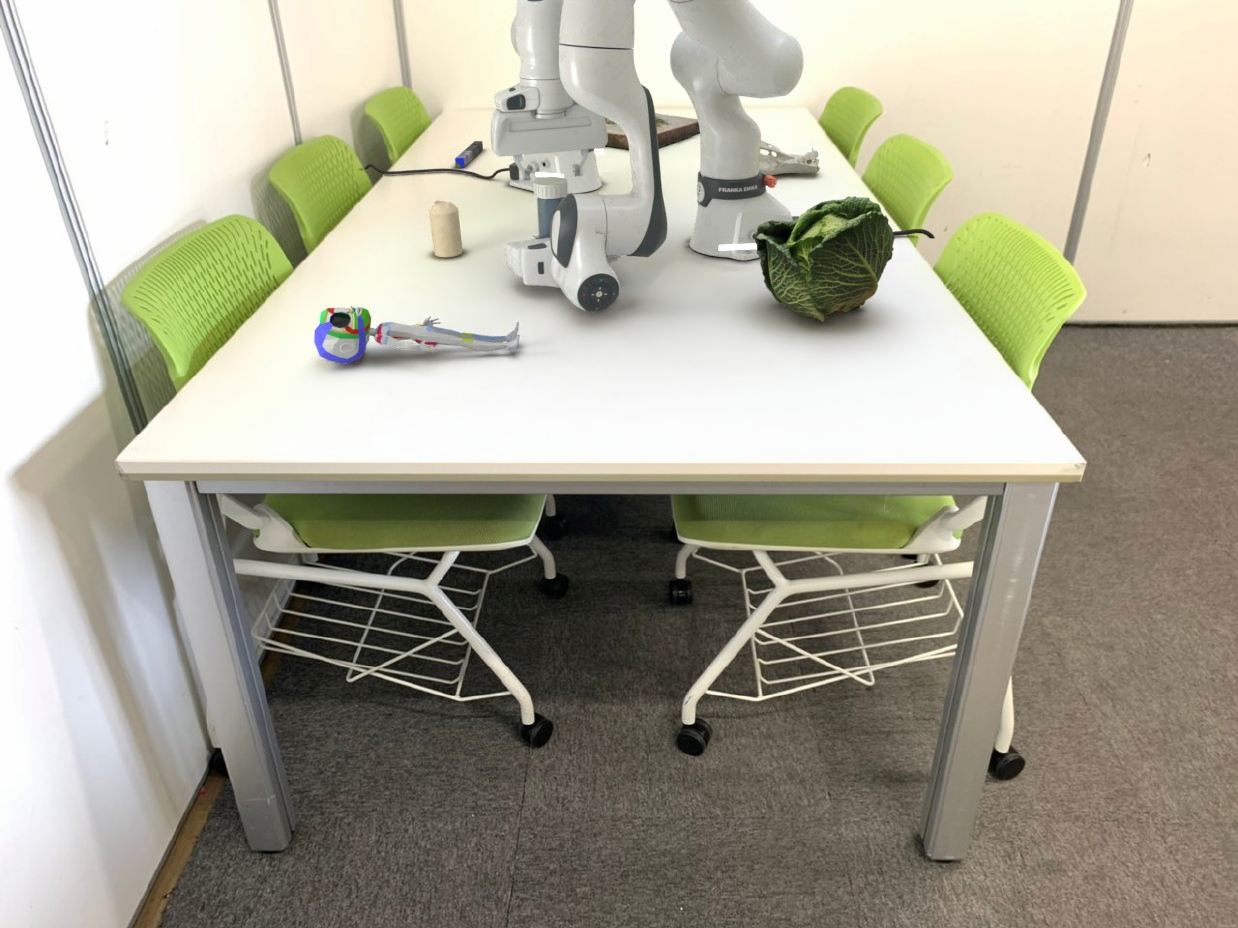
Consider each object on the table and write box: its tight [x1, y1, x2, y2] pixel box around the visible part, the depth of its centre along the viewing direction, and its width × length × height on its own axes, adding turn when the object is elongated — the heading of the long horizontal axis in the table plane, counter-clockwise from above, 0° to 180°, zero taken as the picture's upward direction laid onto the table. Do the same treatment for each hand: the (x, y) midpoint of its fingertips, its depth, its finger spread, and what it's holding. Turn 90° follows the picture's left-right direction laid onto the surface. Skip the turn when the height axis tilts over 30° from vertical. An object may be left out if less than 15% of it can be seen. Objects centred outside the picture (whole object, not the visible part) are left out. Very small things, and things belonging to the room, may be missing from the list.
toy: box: [312, 305, 520, 365], centre depth 135 cm, size 10×8×30 cm
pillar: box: [454, 140, 484, 169], centre depth 238 cm, size 2×2×20 cm
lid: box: [532, 177, 568, 199], centre depth 160 cm, size 6×6×2 cm
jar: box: [536, 196, 566, 239], centre depth 164 cm, size 5×5×16 cm
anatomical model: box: [759, 140, 821, 176], centre depth 220 cm, size 15×9×25 cm
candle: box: [428, 200, 464, 258], centre depth 172 cm, size 6×6×10 cm
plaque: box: [605, 112, 700, 150], centre depth 257 cm, size 30×7×30 cm
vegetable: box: [754, 195, 896, 323], centre depth 144 cm, size 20×19×20 cm
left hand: (552, 177), depth 159 cm, fingers open, 8 cm apart
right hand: (551, 237), depth 165 cm, fingers closed on jar, 5 cm apart
